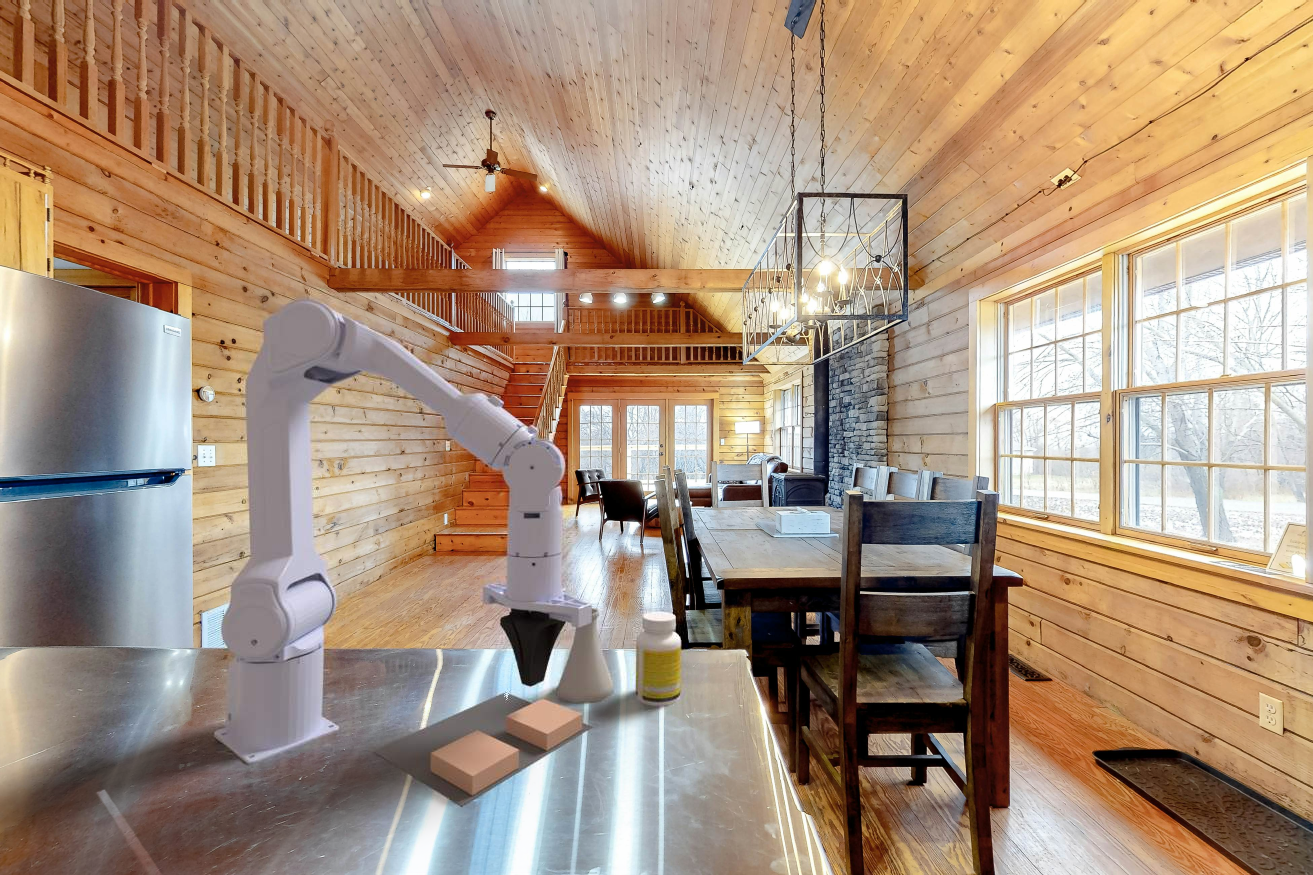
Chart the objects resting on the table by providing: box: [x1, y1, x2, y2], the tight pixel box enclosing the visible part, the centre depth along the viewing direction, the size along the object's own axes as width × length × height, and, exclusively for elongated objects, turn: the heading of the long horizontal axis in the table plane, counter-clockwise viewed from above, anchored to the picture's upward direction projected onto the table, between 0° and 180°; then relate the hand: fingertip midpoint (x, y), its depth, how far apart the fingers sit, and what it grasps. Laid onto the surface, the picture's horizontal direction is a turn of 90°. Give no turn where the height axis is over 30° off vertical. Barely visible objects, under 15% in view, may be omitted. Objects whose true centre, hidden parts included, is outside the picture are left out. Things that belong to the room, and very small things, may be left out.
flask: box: [556, 607, 615, 704], centre depth 67 cm, size 7×7×10 cm
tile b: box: [506, 698, 584, 751], centre depth 57 cm, size 2×5×6 cm
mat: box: [372, 691, 594, 807], centre depth 55 cm, size 14×16×1 cm
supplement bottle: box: [635, 611, 682, 707], centre depth 66 cm, size 5×5×10 cm
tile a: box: [431, 730, 519, 795], centre depth 50 cm, size 2×5×6 cm
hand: (532, 681), depth 58 cm, fingers closed
